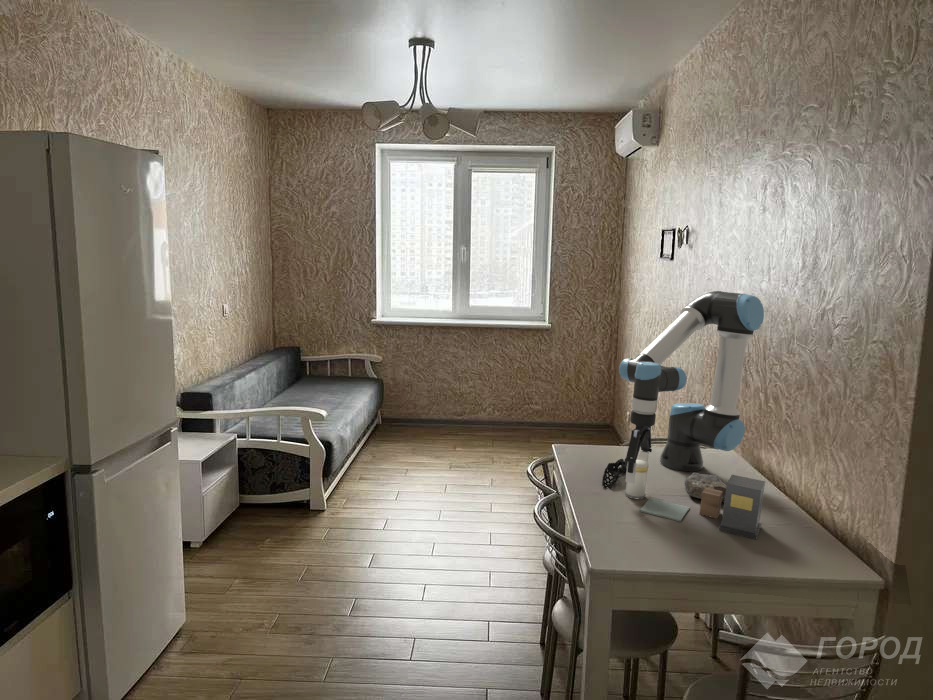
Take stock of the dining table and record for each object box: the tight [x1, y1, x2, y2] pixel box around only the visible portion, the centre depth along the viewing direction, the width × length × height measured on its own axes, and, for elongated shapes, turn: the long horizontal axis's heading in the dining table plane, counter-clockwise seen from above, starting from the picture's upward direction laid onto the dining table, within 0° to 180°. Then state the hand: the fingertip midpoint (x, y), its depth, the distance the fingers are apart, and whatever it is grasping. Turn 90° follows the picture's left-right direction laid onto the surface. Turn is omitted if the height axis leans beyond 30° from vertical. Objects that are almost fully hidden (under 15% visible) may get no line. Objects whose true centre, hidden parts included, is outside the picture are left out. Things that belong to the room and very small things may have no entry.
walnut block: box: [699, 488, 723, 519], centre depth 203 cm, size 5×5×7 cm
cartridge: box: [624, 459, 649, 499], centre depth 214 cm, size 6×6×11 cm
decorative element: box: [601, 458, 627, 489], centre depth 229 cm, size 22×5×6 cm, turn 154°
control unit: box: [718, 474, 766, 540], centre depth 192 cm, size 10×10×14 cm
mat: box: [639, 497, 690, 522], centre depth 204 cm, size 12×12×1 cm
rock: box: [684, 471, 727, 503], centre depth 217 cm, size 13×6×15 cm
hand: (636, 476), depth 213 cm, fingers open, 13 cm apart
